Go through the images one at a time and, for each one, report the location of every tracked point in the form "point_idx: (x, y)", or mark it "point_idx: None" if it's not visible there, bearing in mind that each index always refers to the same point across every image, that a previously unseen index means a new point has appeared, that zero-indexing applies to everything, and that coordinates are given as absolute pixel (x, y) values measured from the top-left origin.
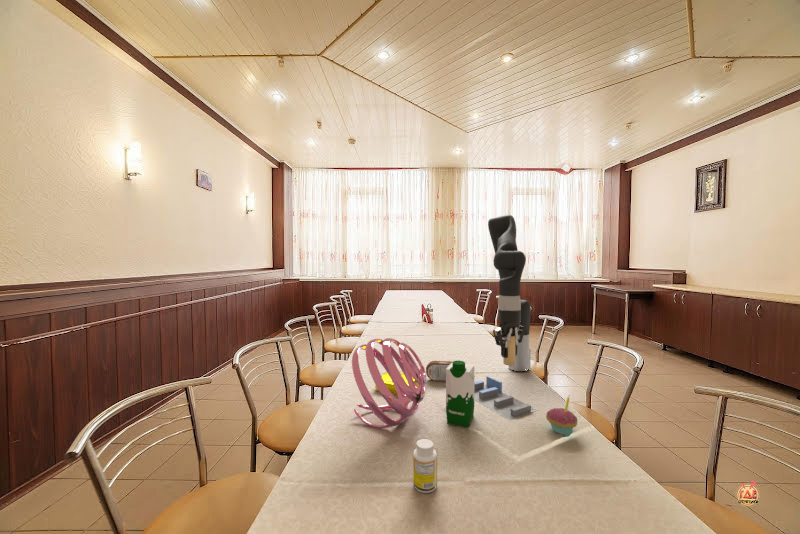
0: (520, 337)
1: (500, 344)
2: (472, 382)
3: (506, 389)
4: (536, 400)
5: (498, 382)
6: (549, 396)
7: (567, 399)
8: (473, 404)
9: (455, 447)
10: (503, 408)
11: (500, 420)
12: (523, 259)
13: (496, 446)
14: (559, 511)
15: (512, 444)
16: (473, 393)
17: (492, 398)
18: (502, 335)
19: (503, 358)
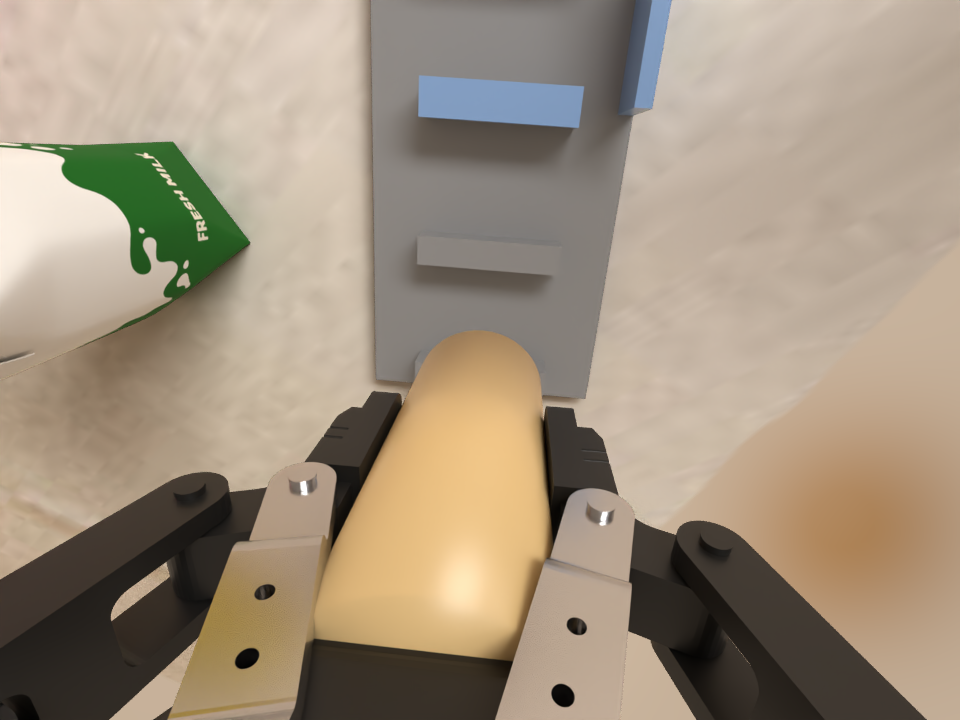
0: (699, 717)
1: (171, 580)
2: (6, 375)
3: (747, 62)
4: (722, 302)
5: (637, 82)
6: (843, 314)
7: None
8: (153, 311)
9: (55, 369)
10: (443, 286)
11: (359, 334)
12: None
13: (206, 446)
14: (181, 655)
15: (269, 469)
16: (99, 334)
17: (493, 152)
18: (258, 628)
19: (421, 372)
